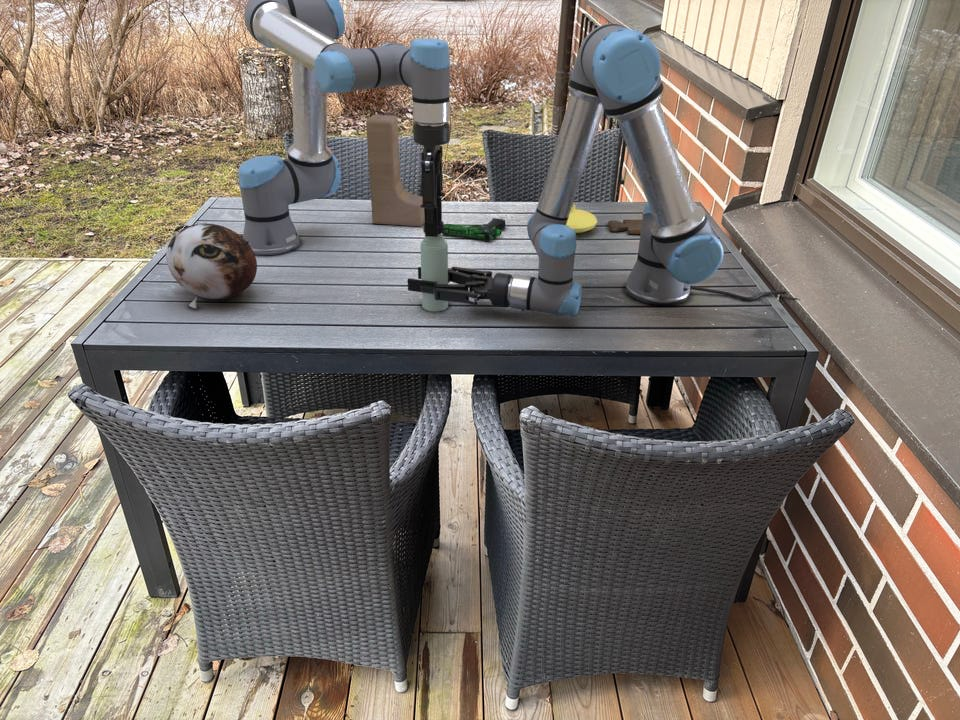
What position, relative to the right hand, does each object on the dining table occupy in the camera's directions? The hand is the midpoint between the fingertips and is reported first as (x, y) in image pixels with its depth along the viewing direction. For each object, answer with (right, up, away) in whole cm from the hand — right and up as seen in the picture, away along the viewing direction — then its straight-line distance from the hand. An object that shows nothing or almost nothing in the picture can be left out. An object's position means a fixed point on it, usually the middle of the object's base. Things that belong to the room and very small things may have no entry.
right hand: (413, 278), depth 164 cm
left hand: (+5, +10, -7) cm, 13 cm away
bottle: (+5, -6, +2) cm, 8 cm away
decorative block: (-9, +23, +50) cm, 56 cm away
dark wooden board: (+66, +20, +47) cm, 84 cm away
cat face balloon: (-47, -4, +5) cm, 47 cm away
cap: (+5, +11, -8) cm, 15 cm away
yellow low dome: (+42, +20, +47) cm, 66 cm away
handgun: (+14, +18, +43) cm, 49 cm away
